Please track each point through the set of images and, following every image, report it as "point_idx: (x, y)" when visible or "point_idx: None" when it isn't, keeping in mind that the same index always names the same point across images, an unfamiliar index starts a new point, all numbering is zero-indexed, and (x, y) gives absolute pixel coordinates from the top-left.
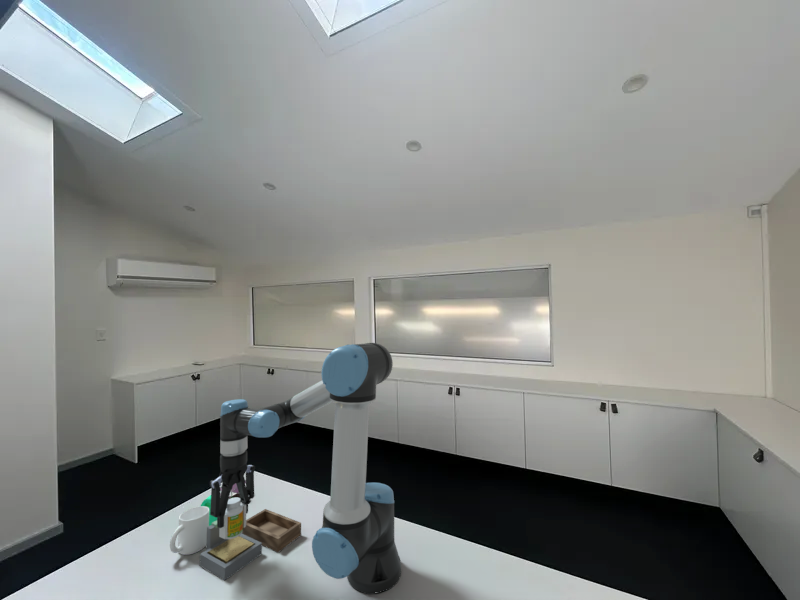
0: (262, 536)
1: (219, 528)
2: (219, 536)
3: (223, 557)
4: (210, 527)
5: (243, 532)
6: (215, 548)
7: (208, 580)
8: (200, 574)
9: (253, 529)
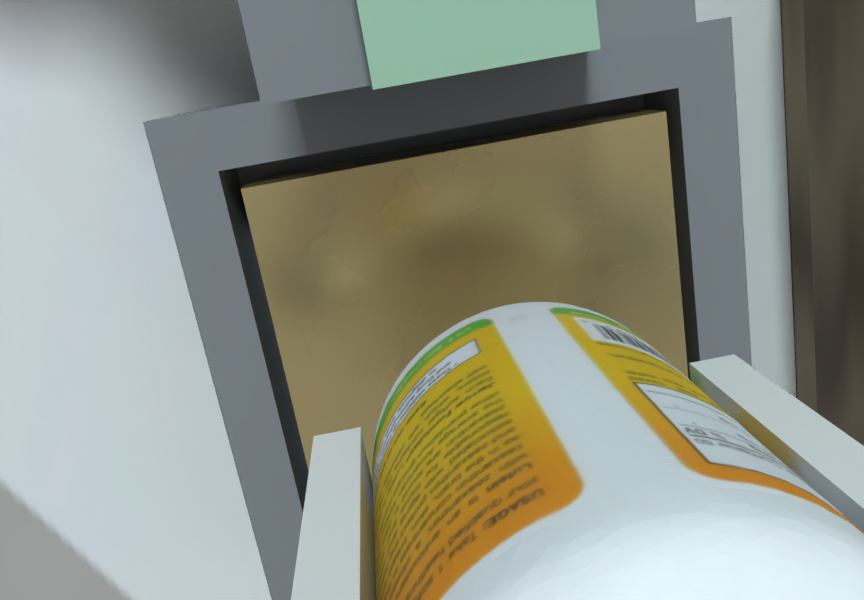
0: (852, 377)
1: (303, 510)
2: (315, 439)
3: None
4: (280, 32)
5: None
6: (334, 195)
7: (180, 434)
8: (144, 280)
9: None
